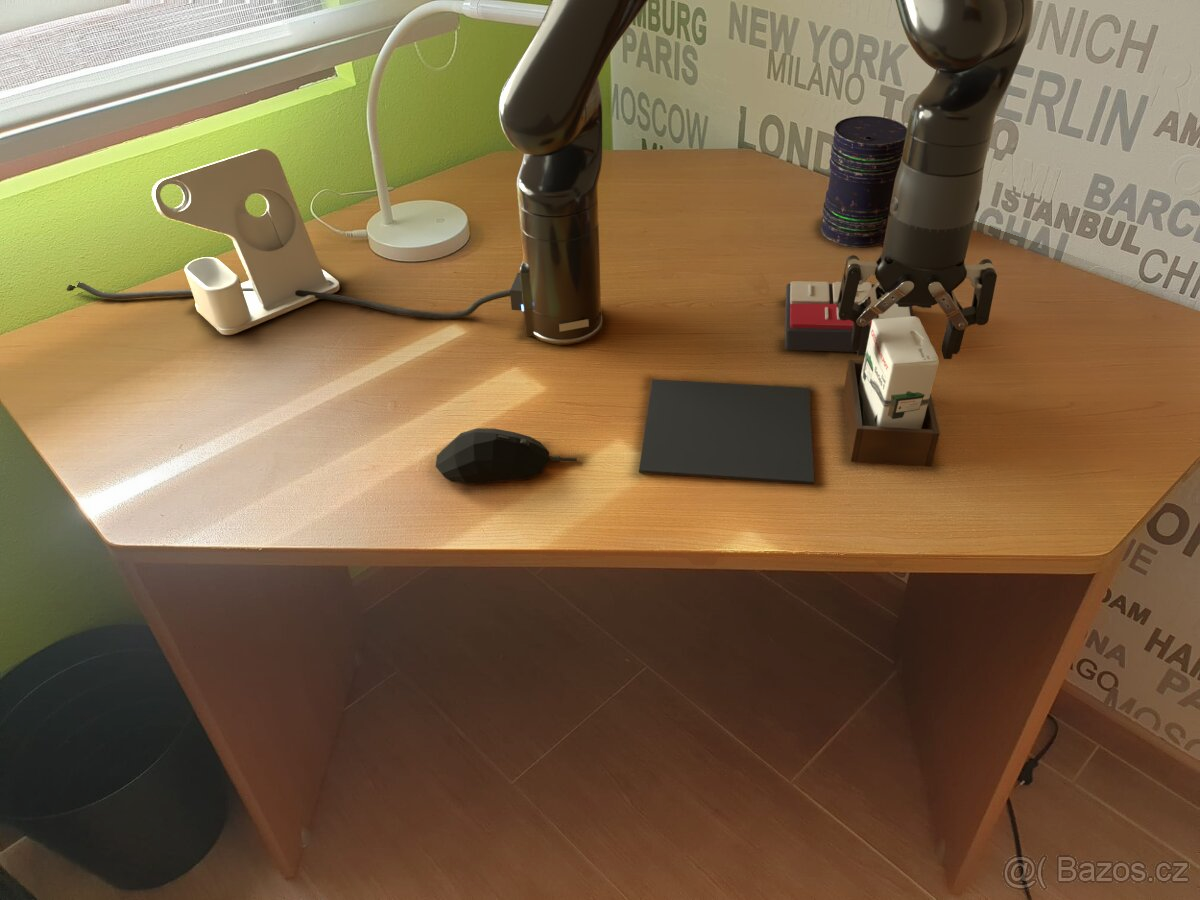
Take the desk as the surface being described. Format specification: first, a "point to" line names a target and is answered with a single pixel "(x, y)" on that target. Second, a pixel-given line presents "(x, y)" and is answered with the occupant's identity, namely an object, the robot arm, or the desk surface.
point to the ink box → (897, 374)
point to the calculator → (823, 316)
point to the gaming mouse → (493, 457)
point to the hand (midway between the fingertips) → (902, 353)
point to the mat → (728, 432)
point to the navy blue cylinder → (862, 179)
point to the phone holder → (247, 241)
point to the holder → (886, 431)
